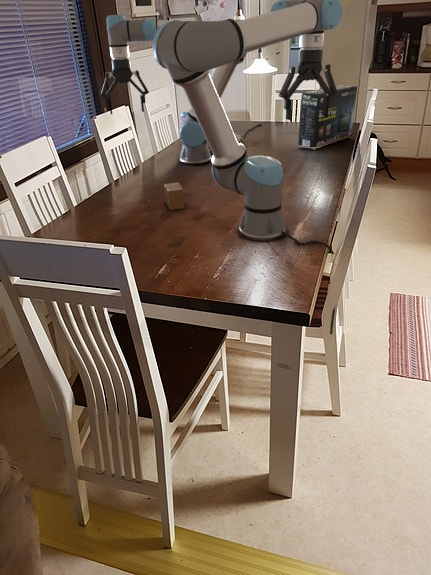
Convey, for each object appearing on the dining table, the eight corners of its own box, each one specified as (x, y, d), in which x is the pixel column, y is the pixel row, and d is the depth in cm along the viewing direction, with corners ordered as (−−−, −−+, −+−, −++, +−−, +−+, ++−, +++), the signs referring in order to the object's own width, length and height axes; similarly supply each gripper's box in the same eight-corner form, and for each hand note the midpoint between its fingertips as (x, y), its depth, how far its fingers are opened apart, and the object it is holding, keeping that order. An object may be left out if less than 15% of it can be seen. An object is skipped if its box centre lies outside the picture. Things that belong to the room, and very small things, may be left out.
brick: (166, 202, 176) (164, 184, 173) (180, 200, 178) (178, 182, 174) (169, 210, 169) (168, 191, 166) (184, 208, 171) (183, 189, 167)
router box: (314, 151, 231) (318, 94, 217) (296, 148, 237) (299, 92, 224) (352, 138, 251) (358, 85, 238) (335, 135, 258) (340, 83, 245)
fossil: (235, 141, 239) (215, 122, 242) (224, 158, 245) (206, 140, 249) (251, 139, 253) (233, 122, 256) (241, 155, 259) (223, 138, 262)
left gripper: (89, 60, 184) (98, 116, 195) (151, 57, 188) (156, 111, 199) (89, 59, 190) (98, 113, 201) (149, 56, 194) (154, 108, 205)
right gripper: (279, 51, 142) (276, 122, 153) (351, 47, 147) (344, 116, 158) (270, 50, 148) (268, 118, 159) (340, 45, 153) (334, 112, 164)
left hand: (127, 112), depth 200 cm, fingers open, 13 cm apart
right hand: (306, 117), depth 159 cm, fingers open, 13 cm apart
